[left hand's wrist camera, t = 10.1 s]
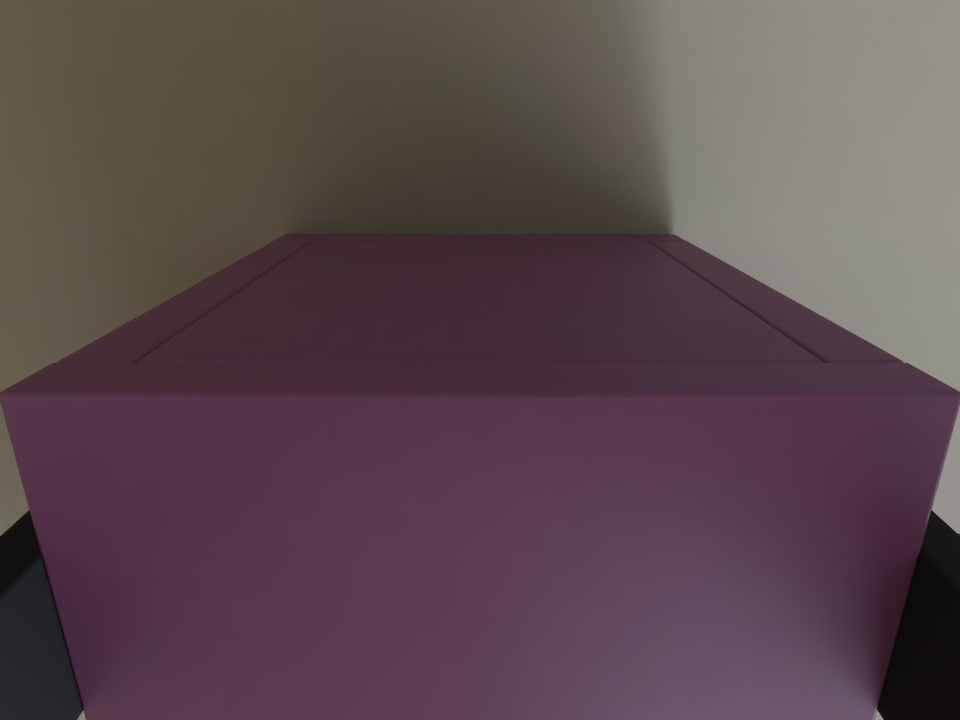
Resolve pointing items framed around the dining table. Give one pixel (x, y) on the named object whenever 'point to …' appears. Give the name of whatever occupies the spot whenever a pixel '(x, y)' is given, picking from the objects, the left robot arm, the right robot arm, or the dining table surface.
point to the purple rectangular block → (480, 489)
